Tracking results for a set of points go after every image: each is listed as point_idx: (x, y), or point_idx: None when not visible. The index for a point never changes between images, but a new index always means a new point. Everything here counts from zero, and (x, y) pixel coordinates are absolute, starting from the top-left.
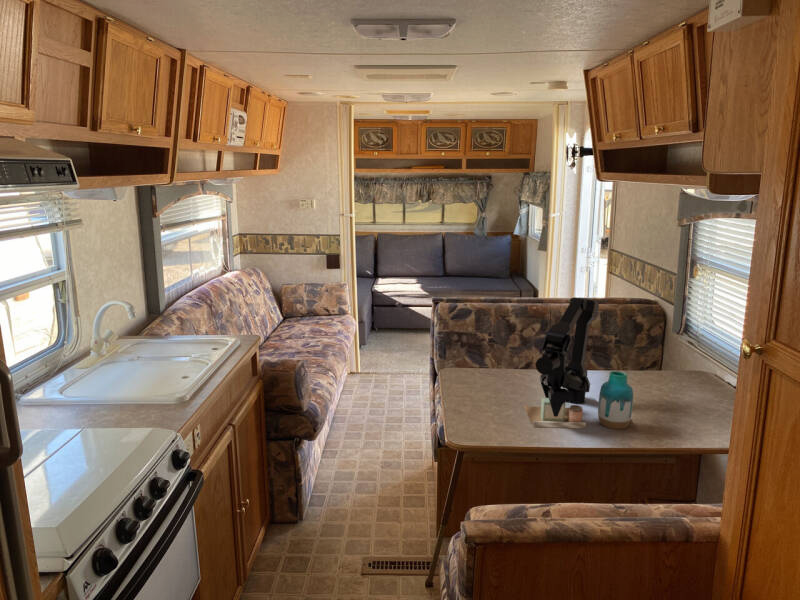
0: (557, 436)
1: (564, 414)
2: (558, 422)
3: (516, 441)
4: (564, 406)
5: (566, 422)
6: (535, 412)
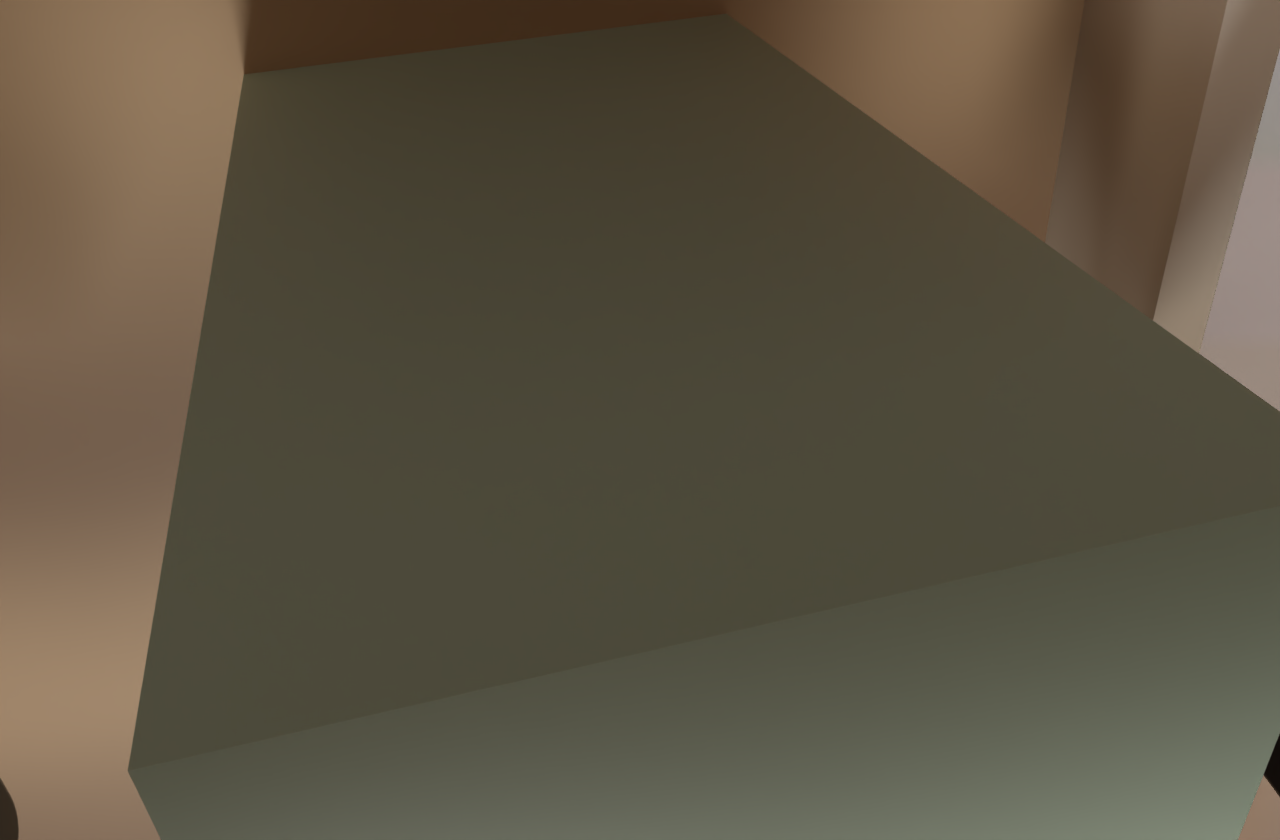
0: (1244, 217)
1: (872, 122)
2: (1206, 323)
3: (1266, 814)
4: (1140, 366)
5: (1261, 35)
6: (71, 824)
